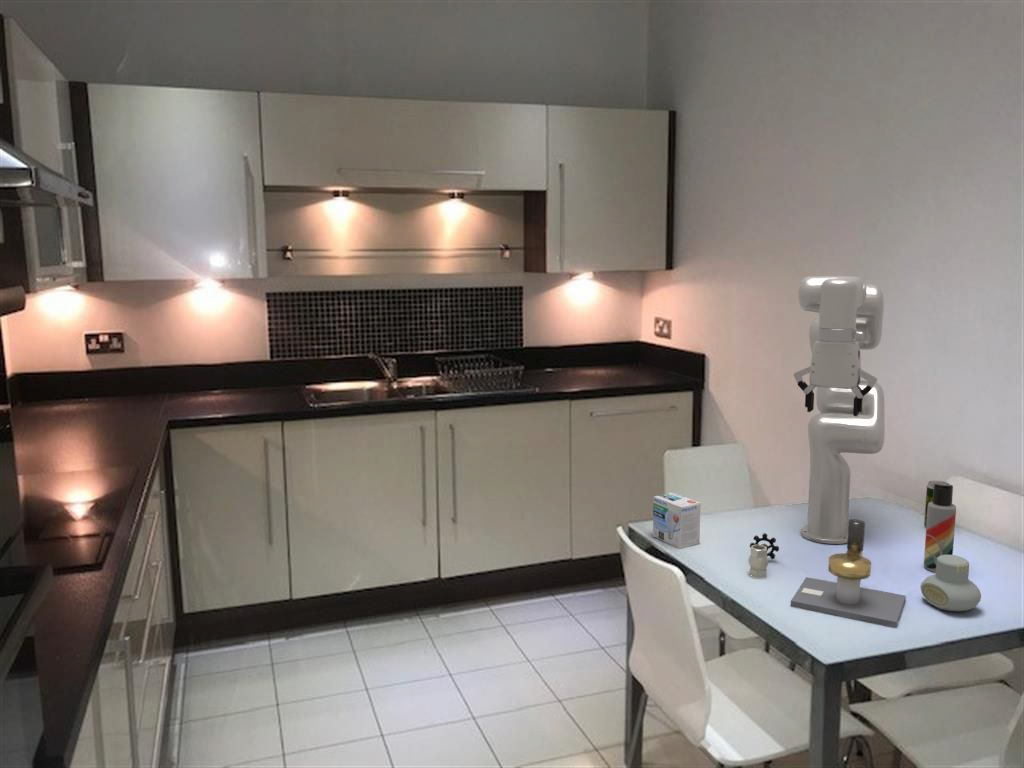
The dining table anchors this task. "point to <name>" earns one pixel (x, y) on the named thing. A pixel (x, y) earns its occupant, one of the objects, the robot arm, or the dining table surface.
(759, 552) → the valve
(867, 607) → the post base
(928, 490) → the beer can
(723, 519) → the dining table surface
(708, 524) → the dining table surface
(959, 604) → the air freshener
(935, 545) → the lotion bottle
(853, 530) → the brass knob with handle
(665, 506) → the light bulb box
